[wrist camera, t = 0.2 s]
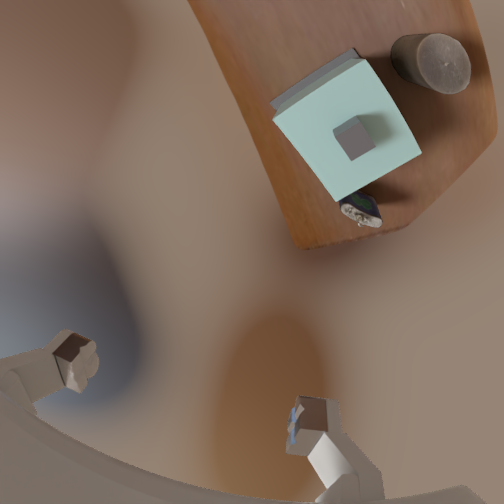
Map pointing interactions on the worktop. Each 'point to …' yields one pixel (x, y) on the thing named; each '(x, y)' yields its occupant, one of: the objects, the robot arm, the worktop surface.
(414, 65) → the pillar candle
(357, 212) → the flask
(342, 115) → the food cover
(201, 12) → the worktop surface
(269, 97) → the worktop surface
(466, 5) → the worktop surface
